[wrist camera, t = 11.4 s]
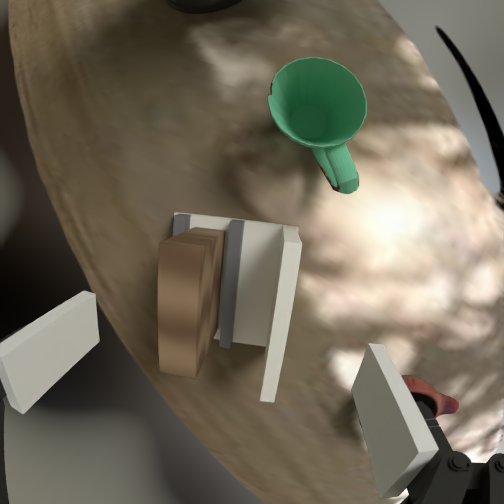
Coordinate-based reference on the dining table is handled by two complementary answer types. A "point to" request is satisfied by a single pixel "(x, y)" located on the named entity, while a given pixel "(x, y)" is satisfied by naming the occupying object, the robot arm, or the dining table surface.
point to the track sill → (254, 286)
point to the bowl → (429, 396)
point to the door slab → (188, 298)
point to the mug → (321, 114)
